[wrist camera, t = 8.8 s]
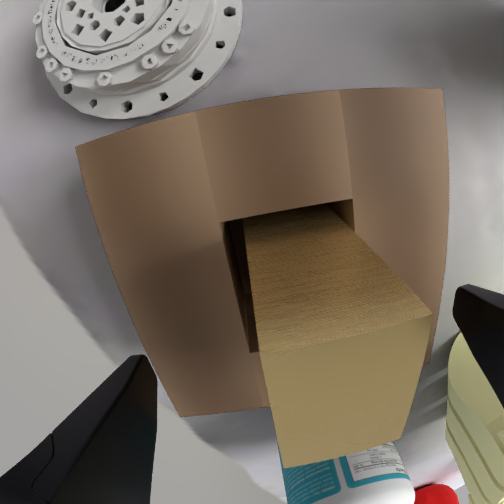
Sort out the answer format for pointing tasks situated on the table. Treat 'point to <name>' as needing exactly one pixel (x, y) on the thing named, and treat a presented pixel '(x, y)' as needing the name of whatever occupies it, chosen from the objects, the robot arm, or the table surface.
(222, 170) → the slotted wooden block
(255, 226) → the brushed gold block
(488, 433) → the slatted curved stool
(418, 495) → the tomato
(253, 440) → the table surface
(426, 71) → the table surface
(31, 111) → the table surface
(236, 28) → the mechanical component
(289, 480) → the pill bottle
